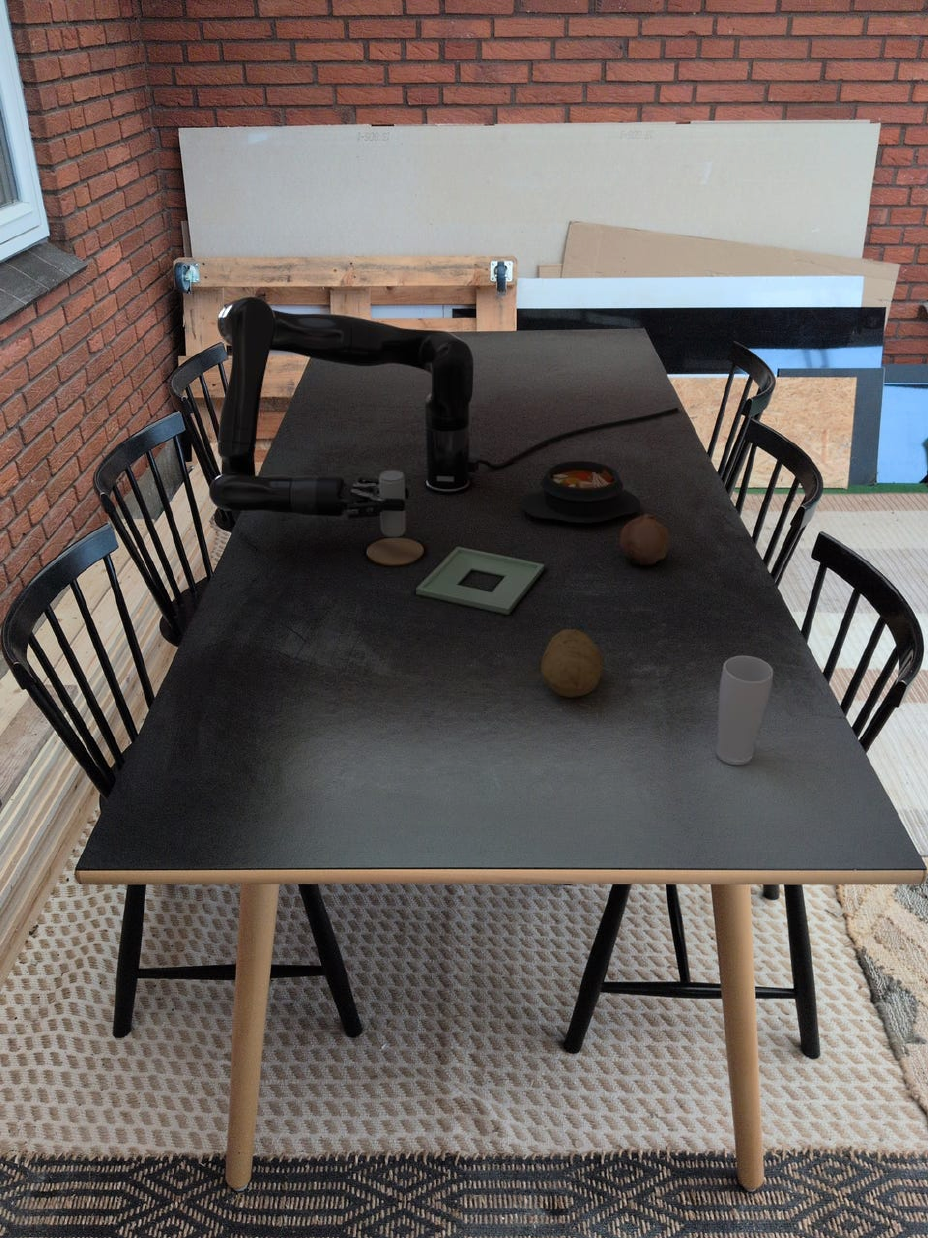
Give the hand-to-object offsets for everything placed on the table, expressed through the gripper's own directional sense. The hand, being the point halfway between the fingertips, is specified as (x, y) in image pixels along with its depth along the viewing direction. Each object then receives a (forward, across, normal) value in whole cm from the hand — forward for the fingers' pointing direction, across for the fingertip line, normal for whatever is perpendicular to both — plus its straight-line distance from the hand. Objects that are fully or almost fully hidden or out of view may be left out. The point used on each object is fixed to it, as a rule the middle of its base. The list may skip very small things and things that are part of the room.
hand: (406, 499), depth 195 cm
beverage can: (-3, 0, +7) cm, 8 cm away
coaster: (-2, 0, +11) cm, 12 cm away
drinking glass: (+54, -59, +11) cm, 80 cm away
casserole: (+34, +21, +11) cm, 41 cm away
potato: (+31, -43, +11) cm, 54 cm away
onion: (+45, 0, +11) cm, 47 cm away
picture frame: (+15, -10, +11) cm, 22 cm away
